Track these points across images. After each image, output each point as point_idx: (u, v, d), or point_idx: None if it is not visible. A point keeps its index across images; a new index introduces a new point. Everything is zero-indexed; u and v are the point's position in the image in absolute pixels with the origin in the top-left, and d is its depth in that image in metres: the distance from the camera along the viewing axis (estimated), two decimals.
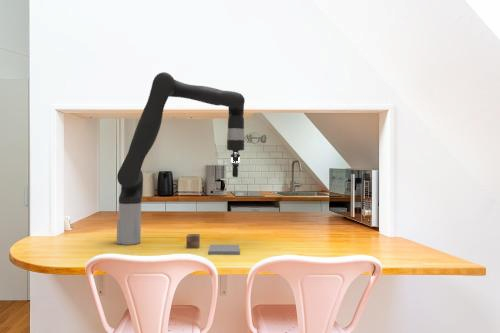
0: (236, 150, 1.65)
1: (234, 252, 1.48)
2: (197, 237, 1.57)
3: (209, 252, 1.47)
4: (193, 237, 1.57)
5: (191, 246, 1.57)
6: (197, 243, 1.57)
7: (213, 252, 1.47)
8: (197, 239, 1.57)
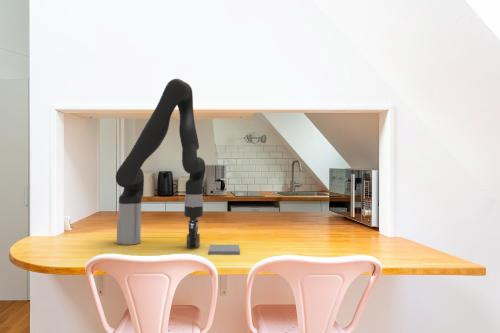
0: (193, 218, 1.56)
1: (234, 252, 1.48)
2: (197, 237, 1.58)
3: (209, 252, 1.47)
4: None
5: None
6: (197, 243, 1.58)
7: (213, 252, 1.47)
8: (197, 239, 1.58)
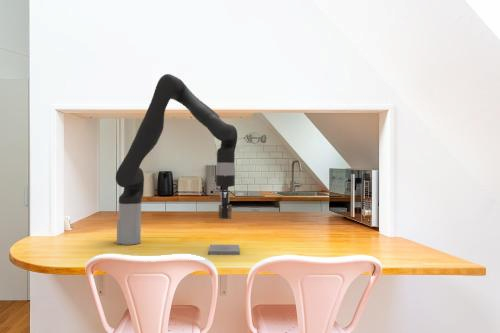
0: (226, 187, 1.50)
1: (234, 252, 1.48)
2: (230, 207, 1.51)
3: (209, 252, 1.47)
4: None
5: None
6: (230, 213, 1.51)
7: (213, 252, 1.47)
8: (230, 209, 1.51)
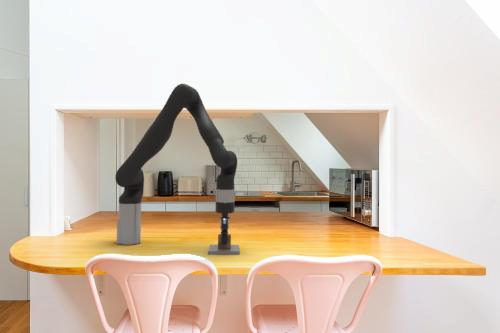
0: (225, 214, 1.50)
1: (234, 252, 1.48)
2: (229, 237, 1.51)
3: (209, 252, 1.47)
4: None
5: (223, 247, 1.51)
6: (229, 244, 1.51)
7: (213, 252, 1.47)
8: (229, 239, 1.51)
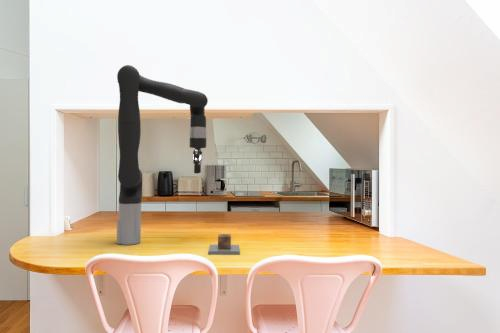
0: (198, 148, 1.72)
1: (234, 252, 1.48)
2: (229, 237, 1.51)
3: (209, 252, 1.47)
4: (225, 237, 1.51)
5: (223, 247, 1.51)
6: (229, 244, 1.51)
7: (213, 252, 1.47)
8: (229, 239, 1.51)
